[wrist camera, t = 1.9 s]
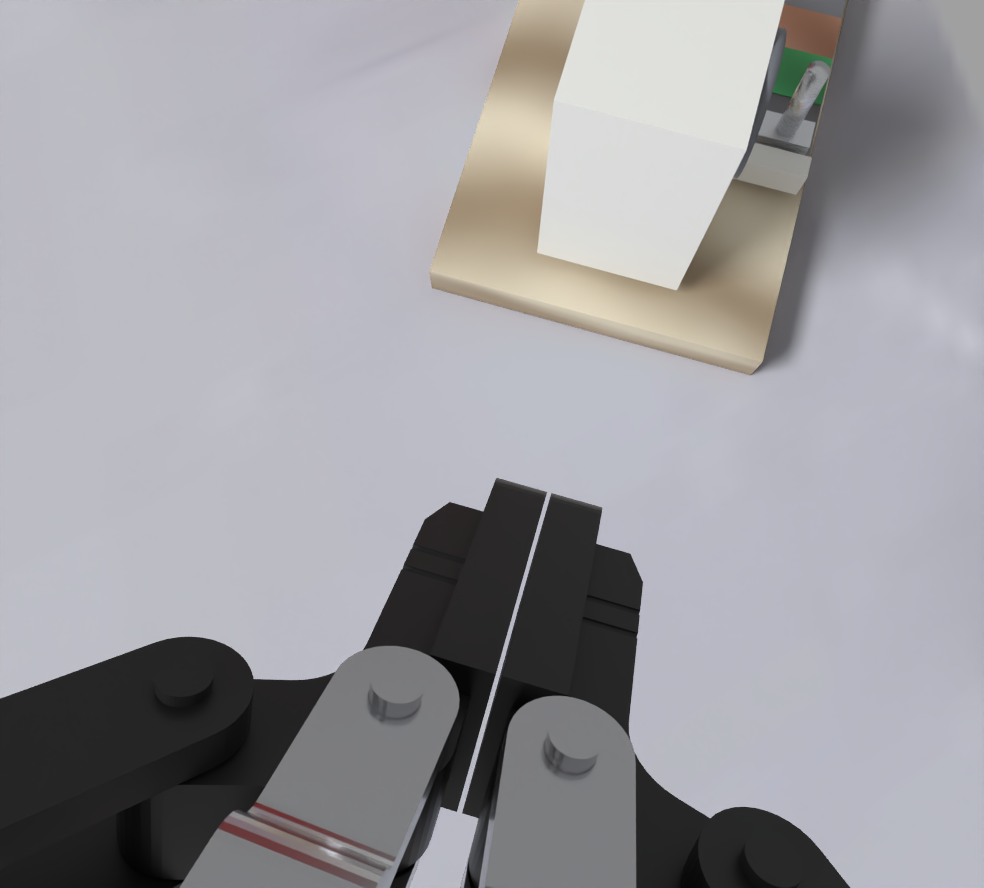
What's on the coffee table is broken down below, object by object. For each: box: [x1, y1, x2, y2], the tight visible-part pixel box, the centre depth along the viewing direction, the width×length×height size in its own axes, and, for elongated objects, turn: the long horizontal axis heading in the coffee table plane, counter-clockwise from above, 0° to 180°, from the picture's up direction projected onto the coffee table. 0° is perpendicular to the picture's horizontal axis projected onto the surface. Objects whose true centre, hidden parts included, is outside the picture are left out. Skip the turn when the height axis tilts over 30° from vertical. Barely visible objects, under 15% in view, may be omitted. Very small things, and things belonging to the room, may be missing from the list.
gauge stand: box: [429, 0, 848, 375], centre depth 35 cm, size 17×12×2 cm
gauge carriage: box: [537, 0, 812, 290], centre depth 28 cm, size 8×8×9 cm
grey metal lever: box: [755, 61, 830, 155], centre depth 31 cm, size 1×2×5 cm, turn 74°
